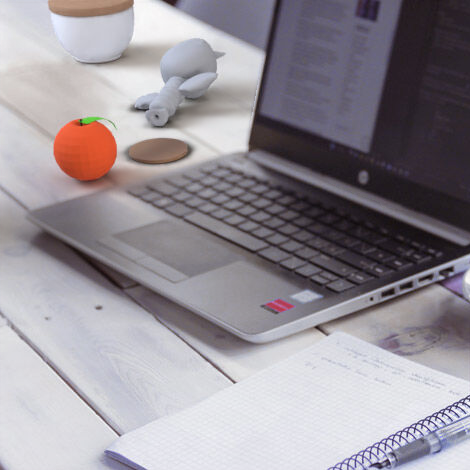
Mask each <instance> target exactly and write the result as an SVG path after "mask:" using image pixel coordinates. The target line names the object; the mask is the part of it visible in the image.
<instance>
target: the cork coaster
mask: <svg viewBox="0 0 470 470" xmlns="http://www.w3.org/2000/svg"><path fill="white" fill-rule="evenodd" d="M188 152H189V145H188V144H187V143H186V142H185V141H183V140H180V139H177V138H171V137H170V138H169V137H157V138H149V139H145V140H141V141H139V142H137V143H134V144H133V145H131V146H130V148H129V150H128V155H129V157H130V158H131V159H132V160H134V161H136V162H138V163H141V164H142V163H143V164H165V163H170V162H174V161H177V160H180V159H182V158H183V157H185V156H187V154H188Z"/></svg>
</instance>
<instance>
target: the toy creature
mask: <svg viewBox="0 0 470 470" xmlns="http://www.w3.org/2000/svg"><path fill="white" fill-rule="evenodd" d="M226 55H227V52H223V51H216V50H214V49H213V47H212V46H211V45H210V43H209V42H207V40H205V39H203V38H201V37H200V38H199V37H195V38H194V37H193V38H189V39H186V40H184V41H181V42H179V43H177V44H175V45H173V46H172V47H170V48H169V49H168V50H167V51H166V52H165V53H164V55H163V56H162V57H161V60H160V63H159V71H160V75H161V79H162V82H163V83H164V85H163V86H162V88H161V89H160V90H159V92H151V93H147V94H145V95H141V96H139V97H138V98H137V99H136V100H135V102H134V109H139V110H146V111H145V113H144V114H145V119H146V121H147V122H148V123H149V124H152V125H153V126H155V127H163V126H165V125H166V123H168V121H169V118H171V117H173V115H175V113H176V110H177V109H178V108H179V106H180V105H181V104H182V103H183V102H184V100H185V99H186V98H188V99H191V100H194V99H196V100H197V99H199V98H201V97H202V96H204V95H205V94H206V93H207V91H208V89H209V88H210V87H211V85H212V84H213V83H214V82H215V81H216V80H217V79H218V76H219V73H217V72H218V62H217V60H218V59H220V58H222V57H224V56H226Z"/></svg>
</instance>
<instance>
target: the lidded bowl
mask: <svg viewBox="0 0 470 470" xmlns="http://www.w3.org/2000/svg"><path fill="white" fill-rule="evenodd" d="M134 4H135V0H47V6H48V10H49V13H50V19H51V24H52V27H53V32H54V34H55V37H56V39H57V41H58V42H59V44H60V45H61V47H62V48H63V49H64V50H65V51H66V52H67V53H69V54H70V55H71V56H73V57H74V60H75V61H76V62H80V63H86V64H102V63H108V62H112V61H116V60H118V59H119V58H122V55H123V52H124V51H125V50H126V49H127V48H128V47H129V45H130V43H131V41H132V39H133V36H134V31H135V9H134V8H135V7H134Z"/></svg>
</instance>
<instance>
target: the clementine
mask: <svg viewBox="0 0 470 470" xmlns="http://www.w3.org/2000/svg"><path fill="white" fill-rule="evenodd" d="M101 120H105V121H108V122H109V123H110V124H112V125H113V127H114V128H115V130H116V131H118V129H117V126H116V125H115V123H114V122H112V120H109V119H107V118H104V117H101V116H87V117H84V118H77V119H73V120H70V121H69V122H67V123H66V124H65V125H63V126H62V127H61V128H60V129H59V130H58V132H57V133H56V135H55V137H54V141H53V144H52V145H53V147H52V149H53V151H52V152H53V158H54V161H55V163H56V164H57V165H58V167H59V168H60V170H61V171H62V172H63V173H64V174H65V175H66V176H68V177H70V178H72V179H75V180H77V181H84V182H85V181H87V182H88V181H94V180H97V179H101V178H102V177H103V176H105V175H107V173H109V172H110V170H111V169H112V168H113V166H114V165H115V163H116V160H117V156H118V145H117V144H118V143H117V141H116V138H115V136H114V135H113V133H112V131H111V130H110V129H109V128H108V127H107V126H106V125H105V124H103V123H102V122H100V121H101Z"/></svg>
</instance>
